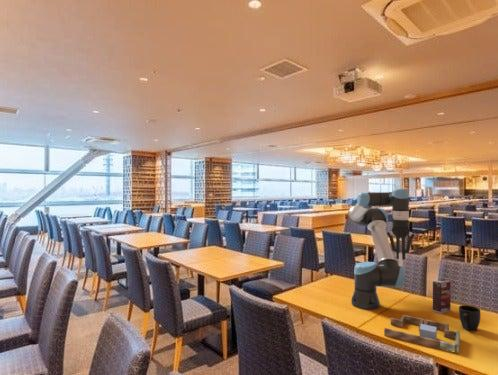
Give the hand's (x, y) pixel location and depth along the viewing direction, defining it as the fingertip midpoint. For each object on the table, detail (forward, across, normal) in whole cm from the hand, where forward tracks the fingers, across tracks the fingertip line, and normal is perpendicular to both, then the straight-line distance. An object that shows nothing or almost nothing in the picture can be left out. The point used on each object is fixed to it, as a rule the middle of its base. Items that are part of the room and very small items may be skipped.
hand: (401, 265), depth 162 cm
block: (+27, +14, -18) cm, 35 cm away
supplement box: (+27, +16, +21) cm, 37 cm away
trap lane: (+26, +11, -15) cm, 32 cm away
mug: (+27, +28, +2) cm, 39 cm away
